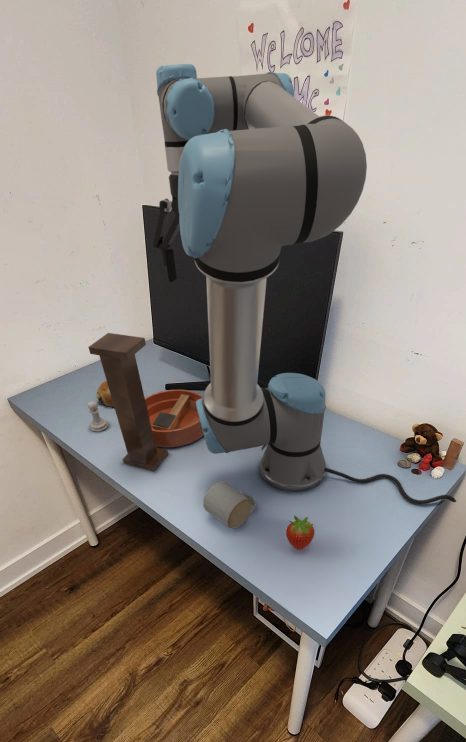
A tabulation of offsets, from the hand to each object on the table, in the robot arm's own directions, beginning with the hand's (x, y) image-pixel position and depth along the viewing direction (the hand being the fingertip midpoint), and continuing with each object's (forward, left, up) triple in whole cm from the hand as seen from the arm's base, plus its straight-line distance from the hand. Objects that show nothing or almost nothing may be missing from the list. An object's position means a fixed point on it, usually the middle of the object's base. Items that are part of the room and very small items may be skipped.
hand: (197, 282), depth 102 cm
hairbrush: (+4, +13, -31) cm, 34 cm away
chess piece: (+24, +22, -33) cm, 46 cm away
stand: (+4, +30, -33) cm, 45 cm away
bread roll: (+28, +8, -33) cm, 44 cm away
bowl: (+4, +15, -33) cm, 36 cm away
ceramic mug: (-24, +40, -33) cm, 57 cm away
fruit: (-40, +44, -33) cm, 68 cm away
